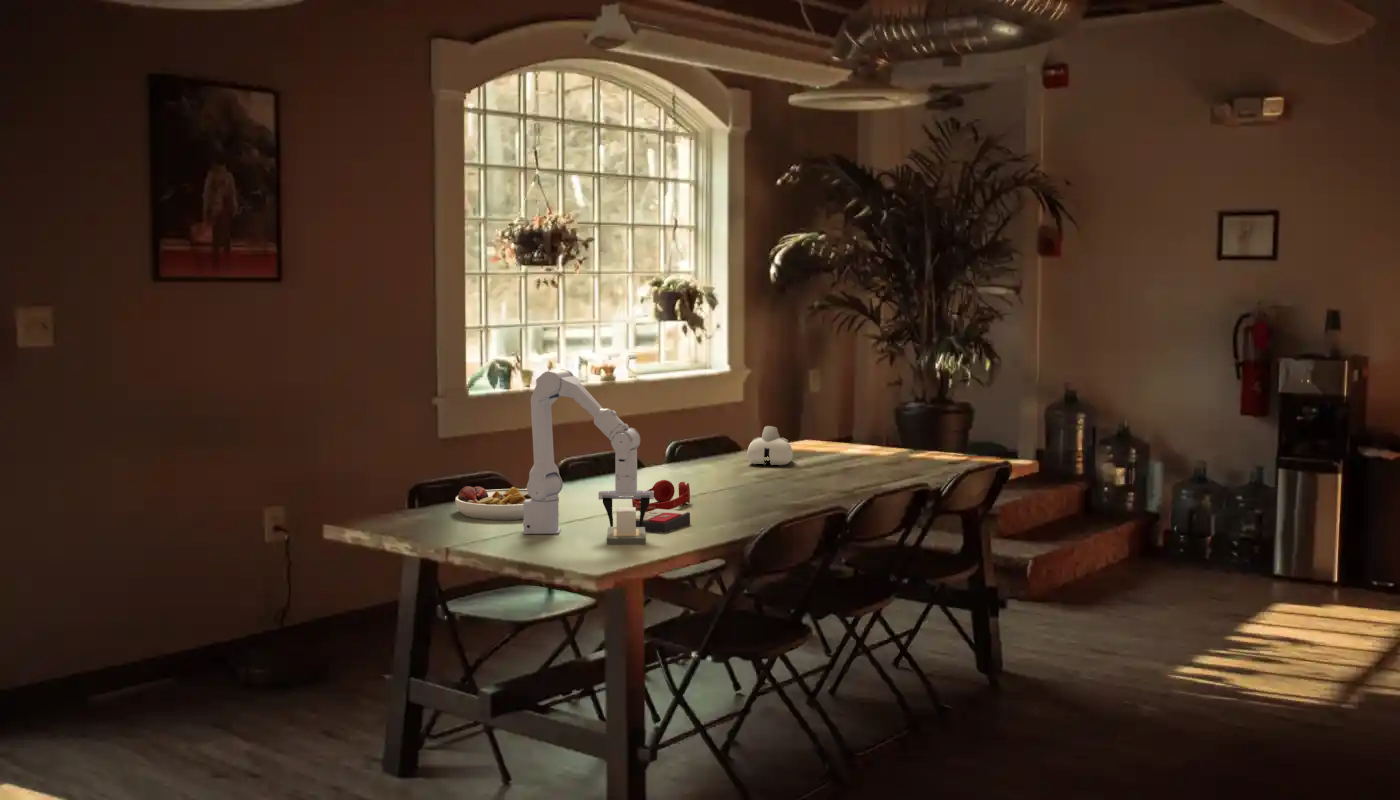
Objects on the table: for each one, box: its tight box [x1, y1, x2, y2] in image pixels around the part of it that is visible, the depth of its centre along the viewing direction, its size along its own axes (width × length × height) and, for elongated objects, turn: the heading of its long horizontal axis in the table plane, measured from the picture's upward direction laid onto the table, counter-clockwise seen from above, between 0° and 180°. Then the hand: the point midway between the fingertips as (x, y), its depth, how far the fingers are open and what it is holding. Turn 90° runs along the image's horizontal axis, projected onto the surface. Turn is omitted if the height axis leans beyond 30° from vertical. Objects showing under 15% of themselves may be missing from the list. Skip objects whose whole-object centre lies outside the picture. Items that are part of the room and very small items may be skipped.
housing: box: [615, 506, 637, 535], centre depth 359 cm, size 5×8×6 cm, turn 3°
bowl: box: [454, 485, 560, 521], centre depth 399 cm, size 30×30×8 cm
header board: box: [606, 526, 646, 545], centre depth 360 cm, size 10×16×5 cm, turn 3°
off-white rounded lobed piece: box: [746, 425, 794, 466], centre depth 506 cm, size 22×23×15 cm
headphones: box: [631, 479, 691, 512], centre depth 411 cm, size 15×7×20 cm
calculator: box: [636, 509, 691, 534], centre depth 377 cm, size 11×4×15 cm
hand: (626, 526), depth 359 cm, fingers open, 7 cm apart
